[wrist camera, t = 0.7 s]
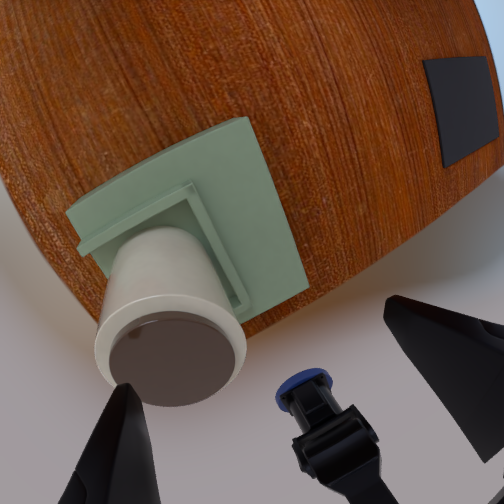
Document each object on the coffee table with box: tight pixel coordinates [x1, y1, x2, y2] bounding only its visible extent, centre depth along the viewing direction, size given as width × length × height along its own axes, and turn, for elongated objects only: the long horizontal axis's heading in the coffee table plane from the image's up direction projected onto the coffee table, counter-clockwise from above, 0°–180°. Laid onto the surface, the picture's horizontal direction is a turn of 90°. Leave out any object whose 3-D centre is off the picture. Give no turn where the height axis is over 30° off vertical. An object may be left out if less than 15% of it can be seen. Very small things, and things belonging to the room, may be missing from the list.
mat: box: [422, 56, 499, 168], centre depth 22 cm, size 11×15×1 cm
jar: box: [94, 226, 247, 407], centre depth 13 cm, size 6×6×8 cm
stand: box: [66, 117, 309, 324], centre depth 17 cm, size 12×11×4 cm
